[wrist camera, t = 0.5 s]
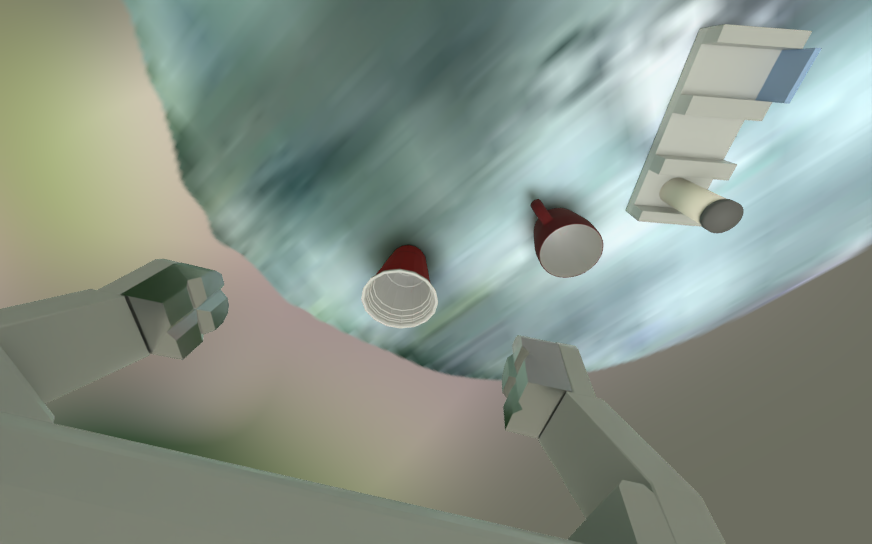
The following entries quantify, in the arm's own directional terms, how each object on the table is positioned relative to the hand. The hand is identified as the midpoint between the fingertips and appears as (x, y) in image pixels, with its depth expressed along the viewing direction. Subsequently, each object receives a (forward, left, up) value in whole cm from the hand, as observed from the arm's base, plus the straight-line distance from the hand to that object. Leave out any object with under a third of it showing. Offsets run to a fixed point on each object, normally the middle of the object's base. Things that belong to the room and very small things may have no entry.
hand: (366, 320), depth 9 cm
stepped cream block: (-1, +34, -41) cm, 53 cm away
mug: (+12, +18, -41) cm, 46 cm away
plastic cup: (+22, -3, -41) cm, 47 cm away
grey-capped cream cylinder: (+6, +34, -39) cm, 52 cm away
